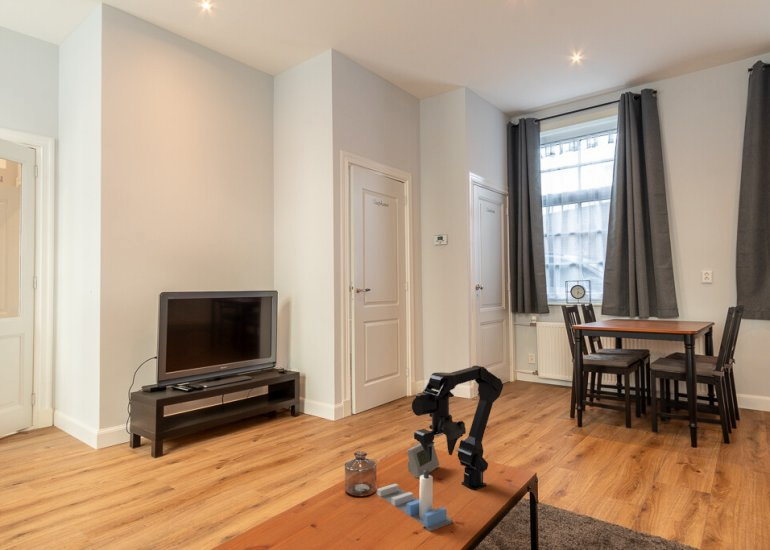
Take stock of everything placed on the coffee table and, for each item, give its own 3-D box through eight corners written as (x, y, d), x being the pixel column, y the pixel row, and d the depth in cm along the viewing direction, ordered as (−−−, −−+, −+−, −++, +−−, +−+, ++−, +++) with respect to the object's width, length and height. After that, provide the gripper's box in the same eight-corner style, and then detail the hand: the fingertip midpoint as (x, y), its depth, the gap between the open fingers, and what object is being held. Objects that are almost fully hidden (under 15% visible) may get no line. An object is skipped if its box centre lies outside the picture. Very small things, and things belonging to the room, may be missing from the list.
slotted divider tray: (396, 489, 164) (396, 477, 164) (452, 522, 141) (452, 509, 141) (375, 495, 159) (375, 484, 159) (429, 531, 136) (429, 517, 136)
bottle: (421, 512, 145) (422, 467, 145) (434, 515, 144) (434, 469, 144) (417, 518, 142) (417, 472, 142) (429, 521, 140) (430, 474, 140)
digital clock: (416, 481, 170) (416, 452, 171) (399, 474, 177) (399, 445, 177) (445, 470, 181) (445, 442, 181) (428, 463, 188) (428, 436, 188)
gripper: (435, 421, 147) (435, 471, 146) (477, 412, 157) (477, 459, 157) (413, 413, 156) (412, 460, 155) (454, 405, 167) (454, 449, 166)
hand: (440, 457), depth 158 cm, fingers open, 9 cm apart
